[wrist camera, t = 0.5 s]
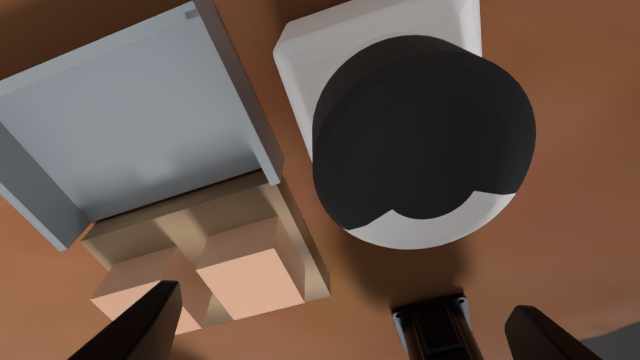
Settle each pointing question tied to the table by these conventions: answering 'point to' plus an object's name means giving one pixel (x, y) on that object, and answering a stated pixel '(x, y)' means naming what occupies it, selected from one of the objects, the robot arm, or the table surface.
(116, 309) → the peach square block
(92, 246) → the board
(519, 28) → the table surface
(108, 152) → the tray
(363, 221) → the medicine bottle
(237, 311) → the tile
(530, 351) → the robot arm
